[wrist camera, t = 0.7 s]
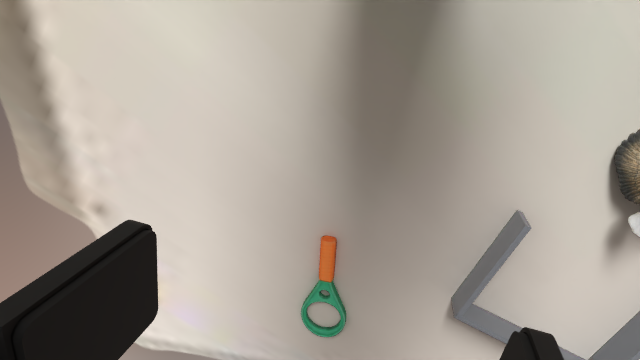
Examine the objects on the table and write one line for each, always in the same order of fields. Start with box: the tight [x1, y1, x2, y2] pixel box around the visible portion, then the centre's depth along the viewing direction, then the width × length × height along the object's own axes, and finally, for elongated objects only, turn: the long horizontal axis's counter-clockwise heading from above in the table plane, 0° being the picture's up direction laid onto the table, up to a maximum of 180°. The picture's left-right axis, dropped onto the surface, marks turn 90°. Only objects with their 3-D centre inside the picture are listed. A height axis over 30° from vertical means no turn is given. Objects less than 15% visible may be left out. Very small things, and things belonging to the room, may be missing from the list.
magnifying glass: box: [301, 236, 346, 337], centre depth 49 cm, size 15×6×2 cm, turn 177°
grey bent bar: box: [452, 210, 640, 360], centre depth 41 cm, size 13×18×4 cm
